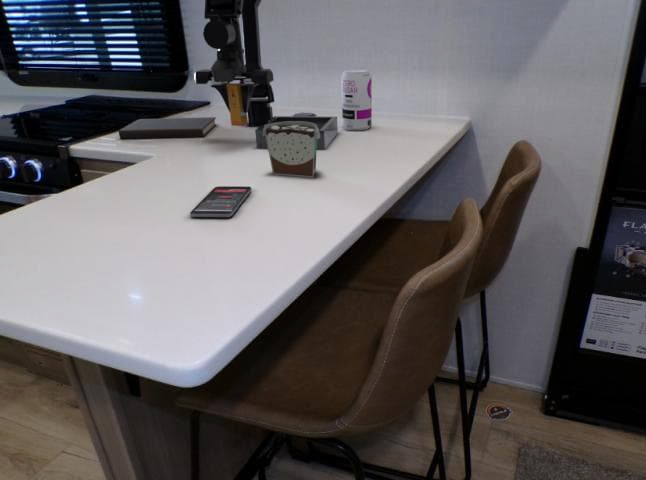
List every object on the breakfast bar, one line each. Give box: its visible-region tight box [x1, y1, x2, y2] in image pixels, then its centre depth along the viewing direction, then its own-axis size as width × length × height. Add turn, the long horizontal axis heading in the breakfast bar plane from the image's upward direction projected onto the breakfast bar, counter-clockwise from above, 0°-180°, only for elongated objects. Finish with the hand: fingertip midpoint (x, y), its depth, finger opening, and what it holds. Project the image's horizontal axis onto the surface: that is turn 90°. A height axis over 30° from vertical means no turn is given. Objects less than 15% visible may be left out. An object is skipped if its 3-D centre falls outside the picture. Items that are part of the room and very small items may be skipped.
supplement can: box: [340, 68, 373, 132], centre depth 145 cm, size 8×8×15 cm
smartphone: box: [189, 185, 252, 219], centre depth 95 cm, size 7×1×15 cm
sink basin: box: [254, 115, 339, 150], centre depth 136 cm, size 17×17×4 cm
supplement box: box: [227, 82, 249, 127], centre depth 133 cm, size 3×3×10 cm
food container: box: [263, 121, 320, 179], centre depth 110 cm, size 12×6×10 cm, turn 71°
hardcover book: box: [118, 116, 218, 140], centre depth 149 cm, size 16×23×2 cm
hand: (238, 112), depth 134 cm, fingers closed on supplement box, 4 cm apart
